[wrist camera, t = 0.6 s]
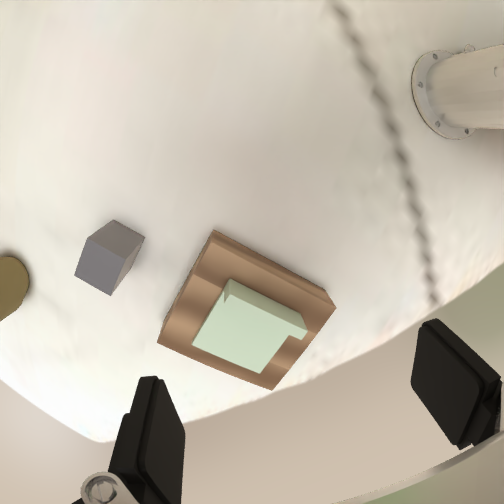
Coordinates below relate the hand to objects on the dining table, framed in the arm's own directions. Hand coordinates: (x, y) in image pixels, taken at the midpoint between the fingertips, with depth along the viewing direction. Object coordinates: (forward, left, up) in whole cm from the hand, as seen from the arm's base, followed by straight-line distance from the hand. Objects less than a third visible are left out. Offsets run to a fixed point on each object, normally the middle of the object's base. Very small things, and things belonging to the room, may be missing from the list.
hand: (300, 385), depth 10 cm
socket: (+10, +5, -28) cm, 30 cm away
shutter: (+10, +5, -23) cm, 26 cm away
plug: (+10, -12, -28) cm, 32 cm away
